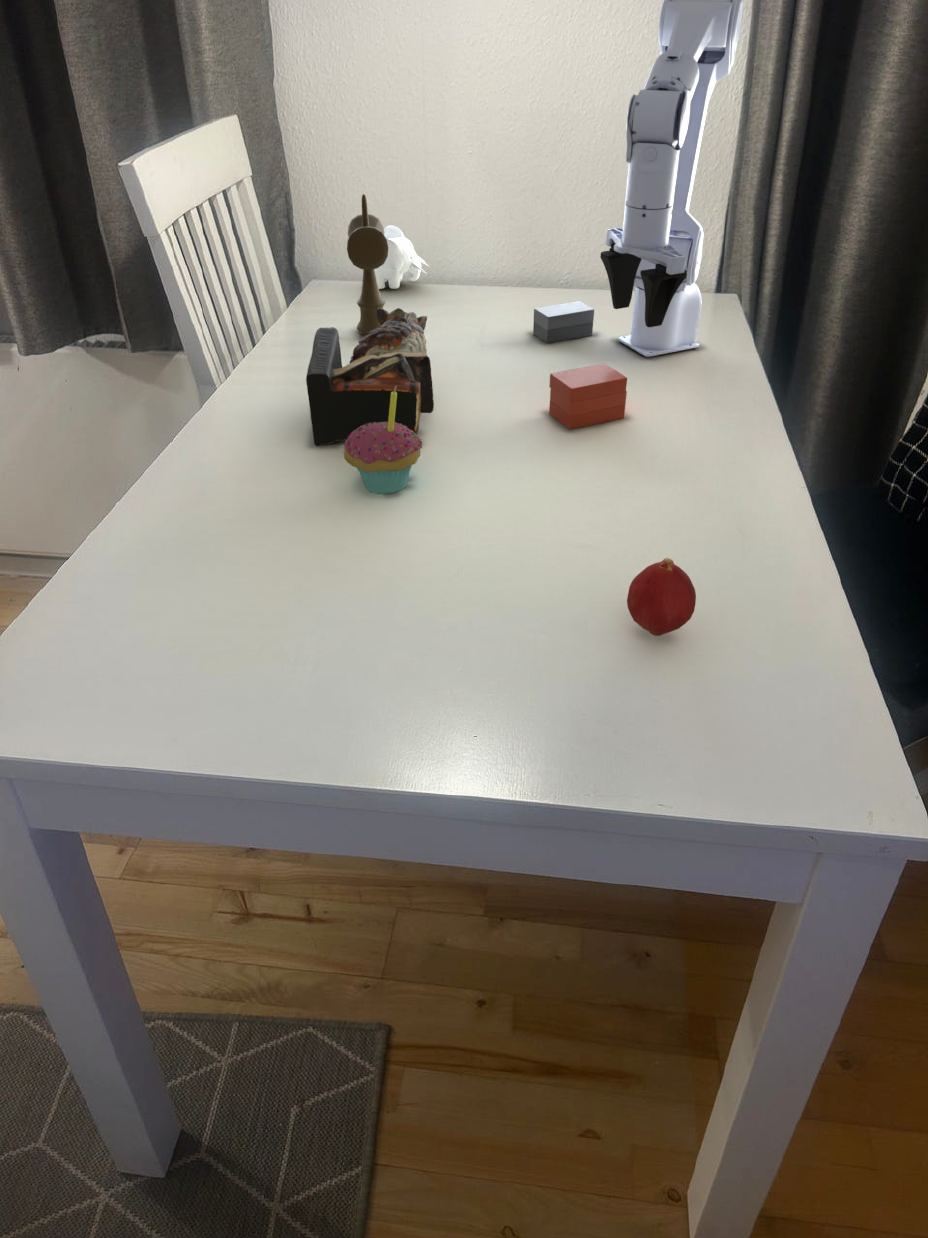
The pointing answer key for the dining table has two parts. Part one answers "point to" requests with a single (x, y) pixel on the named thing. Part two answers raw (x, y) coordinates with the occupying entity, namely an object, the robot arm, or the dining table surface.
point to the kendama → (367, 263)
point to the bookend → (370, 377)
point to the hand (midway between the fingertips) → (637, 316)
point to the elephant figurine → (398, 260)
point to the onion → (661, 598)
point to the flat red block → (588, 382)
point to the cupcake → (383, 452)
